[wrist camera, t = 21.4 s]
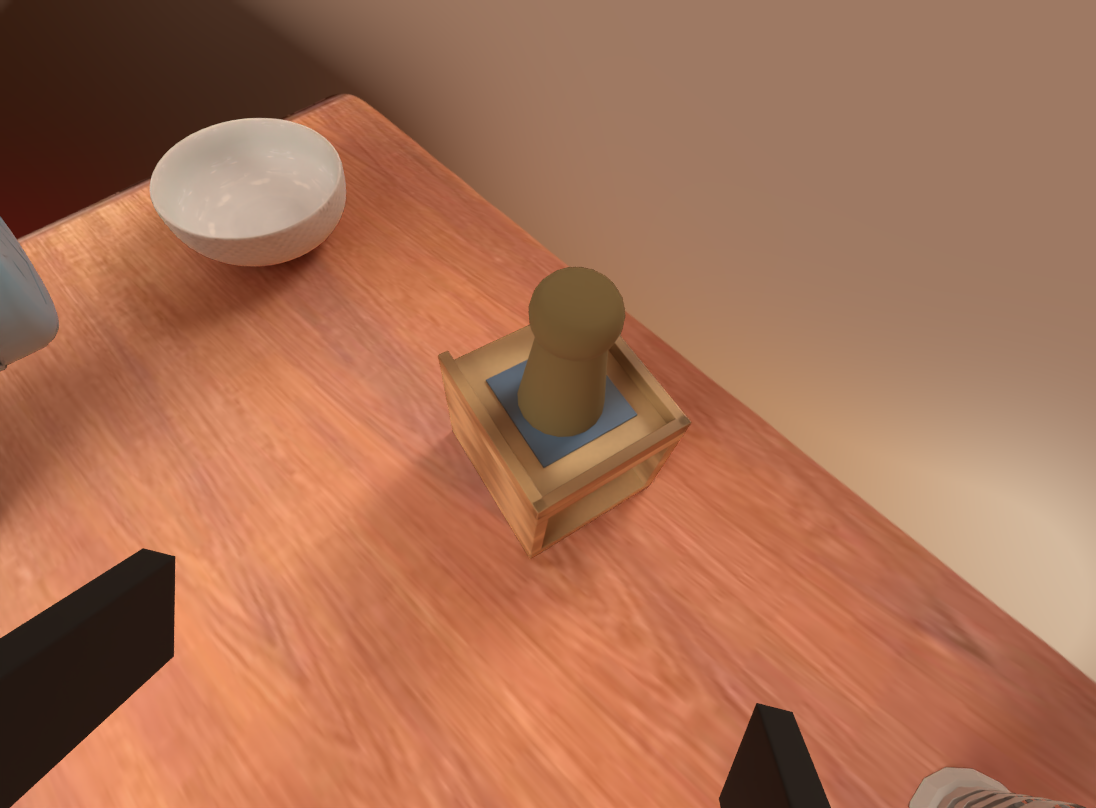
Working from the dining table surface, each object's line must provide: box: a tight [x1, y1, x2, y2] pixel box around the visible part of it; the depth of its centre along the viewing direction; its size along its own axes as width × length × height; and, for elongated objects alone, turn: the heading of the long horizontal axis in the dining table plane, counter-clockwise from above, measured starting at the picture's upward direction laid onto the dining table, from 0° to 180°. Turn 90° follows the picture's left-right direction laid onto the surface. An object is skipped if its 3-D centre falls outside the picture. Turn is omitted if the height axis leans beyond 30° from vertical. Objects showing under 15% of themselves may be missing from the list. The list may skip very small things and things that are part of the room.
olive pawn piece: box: [517, 267, 625, 437], centre depth 33 cm, size 6×6×11 cm
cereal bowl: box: [150, 118, 346, 267], centre depth 54 cm, size 17×17×7 cm
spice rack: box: [438, 325, 691, 559], centre depth 42 cm, size 13×12×12 cm
